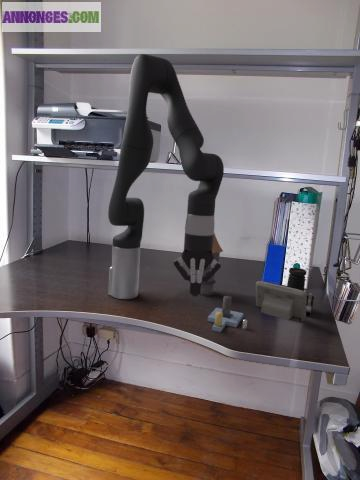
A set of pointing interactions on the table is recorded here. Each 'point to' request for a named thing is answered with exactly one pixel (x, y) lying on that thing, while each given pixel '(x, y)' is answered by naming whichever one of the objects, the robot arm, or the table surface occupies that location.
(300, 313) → the digital clock
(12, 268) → the table surface
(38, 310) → the table surface
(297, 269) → the scope
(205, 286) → the model tower
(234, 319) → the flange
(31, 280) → the table surface
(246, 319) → the dowel
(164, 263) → the table surface
